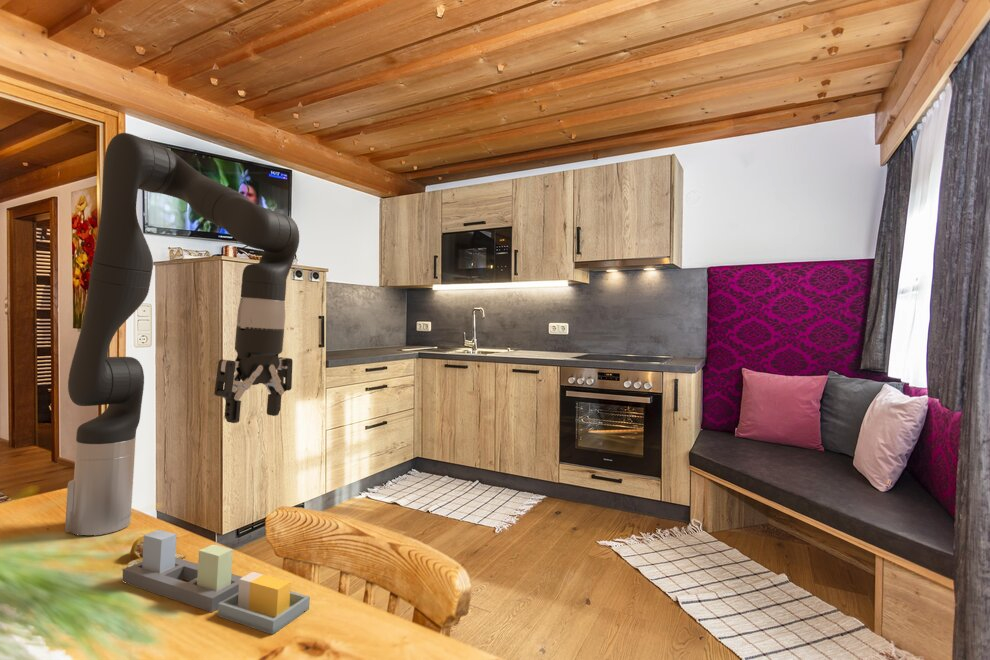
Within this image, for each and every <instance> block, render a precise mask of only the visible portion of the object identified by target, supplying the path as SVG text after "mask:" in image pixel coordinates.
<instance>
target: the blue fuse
mask: <svg viewBox="0 0 990 660" xmlns="http://www.w3.org/2000/svg"><path fill="white" fill-rule="evenodd" d="M143 536H144V541H143V559H142V568H143V569H146V570H150V571H153V572H156V573H159V574H160V573H162V572H164V571H167V570H169V569H171V568H174V567H175V555H176V554H177V552H176V550H177V536H178V535H177V533H173V532H169V531H166V530H163V529H157V530H155V531H151V532H149V533H146V534H144V535H143Z"/></svg>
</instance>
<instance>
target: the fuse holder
mask: <svg viewBox="0 0 990 660" xmlns="http://www.w3.org/2000/svg"><path fill="white" fill-rule="evenodd" d="M197 575H198V562H193V561H190V560H187V559H183V558H182V559H180V558H178V556H177V557H175V567H174V568H171V569H169V570H167V571H164V572H162V573H160V574H159V573H156V572H153V571H150V570H146V569H143V568H142V562H140V563H138V564H135V565H133V566H130V567H128V568H127V567H125V568H123V569H122V578H121V581H124V582H126V583H129V584H131V585H130V586H132V585H133V587H135V586H136V587H135V588H138V589H140V590H145V591H147V592H151V593H153V594H156V595H160V596H162V597H165V598H169V599H172V600H175V601H176V602H180V603H183V604H187V605H188V606H192V607H195V608H198V609H200V610H204V611H206V612H210V613H213V612H215V611H216V610H217V611H218V603H220V602H222V601H223V600H225V599H227V598H229V597H231V596H232V595H234V594H236V593H238V592H239V579H240V578H242V577H243V576H240V575H238V574H234V573H231V584H230V585H228V586H227V587H225V588H223V589H221V590H219V591H217V592H216V591H213V590H210V589H207V588H203V587H200V586H197ZM184 580H187V581H184ZM126 583H125V584H126ZM129 584H128V585H129Z"/></svg>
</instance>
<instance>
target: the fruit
mask: <svg viewBox="0 0 990 660" xmlns="http://www.w3.org/2000/svg"><path fill="white" fill-rule="evenodd" d="M143 541H144V535H143V536H141V537H139V538H137V539H136V540H135V541H134V542H133V544H132V546H131V548H130V551H129V556H130V559H131V561H129V562H128V563H127V564H126V568H128V567H130V566H133V565H135V564H138V563H140V562H142V559H143ZM175 557H177V558H180V559H183V558H185V557H186V555H185V554H179V553H176V555H175Z"/></svg>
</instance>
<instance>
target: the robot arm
mask: <svg viewBox="0 0 990 660" xmlns="http://www.w3.org/2000/svg"><path fill="white" fill-rule="evenodd" d="M102 168H103V171H102V185H101V186H102V188H101V193H102V194H101V204H100V205H101V206H100V216H99V225H98V230H97V231H98V232H97V238H96V242H95V243H96V244H95V247H94V253H93V257H92V263H91V268H90V275H89V283H88V288H87V289H88V290H87V297H86V303H85V304H86V305H85V309H84V316H83V320H82V324H81V329H80V332H79V335H78V339H77V343H76V347H75V349H74V354H73V357H72V360H71V364H70V368H69V373H68V380H67V391H68V395H69V398H70V400H71V401H72V403H74V404H75V405H77V406H79V407H94V406H105V405H107V408H106V409H105V411H103V412H102V413H101V414H99V415H98V416H96V417H95V418H93V419H90V420H88V421H86V422H84V423H82V424H80V425H79V426H78V428H77V430H76V436H75V437H76V438H75V441H76V442H75V454H74V455H75V457H74V470H73V471H74V474H73V479H72V480H69V481H68V482H67V488H66V490H67V494H66V507H65V508H66V509H65V522H64V524H65V526H64V532H65V533H71V532H72V533H73V534H72V533H71V534H72V535H74V534H78V535H77V536H79V535H94V536H101V535H106V534H111V533H114V532H117V531H121V530H122V529H125V528H127V527H129V525H131V522H132V521H131V520H132V519H131V516H132V503H133V490H134V489H133V488H134V487H133V486H134V475H135V474H134V472H135V455H136V438H137V437H136V435H137V429H138V426H139V425H140V421H141V413H142V412H141V411H142V404H143V403H142V402H143V395H144V389H145V388H144V386H145V375H144V373H145V372H144V369H143V365H142V364H141V363H140V361H139V360H138V359H136V358H135V357H133V356H108V351H109V348H110V345H111V342H112V341H113V338H114V337H115V335H116V333H117V332H118V330H119V329H120V328H121V327H122V326H123V324H124V323H125V322H126V321H127V320H128V319H129V318H130V317H132V315H133V314H134V313H135V312H136V311H137V310H138V309H139V308H140V306H141V305H142V304H143V303H144V302H145V301H146V298H147V296H148V295H149V291H150V286H151V281H152V274H153V268H154V260H153V255H152V252H151V250H150V247H149V244H148V242H147V240H146V238H145V235H144V233H143V230H142V228H141V226H140V223H139V220H138V214H137V200H138V192H139V190H141V191H145V192H149V193H154V194H162V195H166V196H168V197H169V196H170V197H173V198H176V199H179V200H181V201H184V202H185V203H187V204H188V205H189V206H190V208H191V210H193V211H194V212H195V213H196V214H197V215H198V216H200V217H202V218H203V219H205V220H206V221H208V222H209V223H211V224H214V225H215V226H217V227H219V228H221V229H223V230H224V231H226V232H227V233H228V234H229V235H230V236H231V237H232V238H233V239H235V240H236V241H238V242H239V243H241V244H242V245H245V246H247V247H250V248H253V249H257V250H261V251H263V252H262V255H261V257H260V260H259V262H256V263H250V264H247V265H246V266H244V268H243V271H242V275H241V289H240V290H241V291H240V299H239V304H238V308H237V316H236V317H237V319H236V329H235V330H236V331H235V339H234V350H235V351H236V353H237V355H236V358H235V360H230V359H222V358H221V359H219V360H218V362H217V368H216V369H217V371H216V379H215V383H214V385H215V386H214V390H213V391H214V393H213V394H214V396H216V397H220V398H223V399H224V400H225V406H224V407H225V408H224V418H225V420H226V422H227V423H232V424H236V423H239V422H240V416H241V406H242V405H241V404H242V401H241V400H240V399H241V398H242V396H243V394H244V393H245V392H246V391H247V390H249V389H250V388H251V386H255V385H260V384H261V385H264V386H265V387H266V389H267V390H268V393H269V394H268V395H267V403H266V405H267V406H266V414H267V415H268V416H272V417H276V416H279V414H280V411H281V404H282V395H283V394H285V392H287V391H291V390H292V389H293V386H292V385H293V383H292V381H293V363H294V362H293V359H292V358H291V357H290V358H289V357H282V356H280V357H279V355H280V354H282V353H283V347H284V336H285V325H286V302H285V301H286V294H287V293H286V292H287V278H288V275H289V273H290V271H291V269H292V266H293V263H294V260H295V257H296V254H297V251H298V249H299V244H300V230H299V228H298V224H297V223H296V221H295V220H294V219H293V218H292V217H291V216H289V215H287V214H283V213H281V212H278V211H275V210H272V209H270V208H266V207H263V206H261V205H258V204H256V203H253V202H252V200H251V199H250V198H248V197H247V196H245V195H244V194H243V193H240V192H238V191H236V190H235V189H233V188H231V187H230V186H227V185H224V184H222V182H221V183H220V182H218V181H217V180H214V179H211V178H209V177H208V176H206V175H204V174H203V173H201V172H199V171H198V170H196V169H195V168H194V167H192V166H191V165H190V164H189V163H187V162H186V161H185V160H184V159H183V158H181V157H180V156H179V155H178V154H177V153H175V152H174V151H173V150H171V149H170V148H167V147H166V146H164V145H161V144H158V143H156V142H153V141H150V140H148V139H145V138H143V137H140V136H137V135H134V134H131V133H128V132H120V133H117V134H116V135H114V136H113V137H112V138H111V139H110V141H109V143H108V145H107V148H106V150H105V154H104V160H103V167H102Z"/></svg>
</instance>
